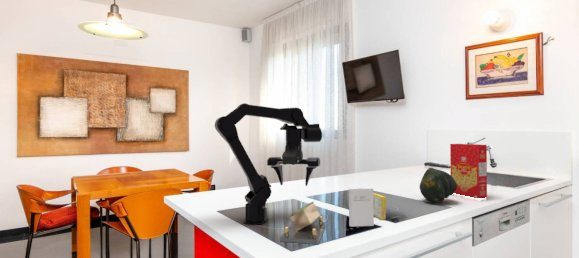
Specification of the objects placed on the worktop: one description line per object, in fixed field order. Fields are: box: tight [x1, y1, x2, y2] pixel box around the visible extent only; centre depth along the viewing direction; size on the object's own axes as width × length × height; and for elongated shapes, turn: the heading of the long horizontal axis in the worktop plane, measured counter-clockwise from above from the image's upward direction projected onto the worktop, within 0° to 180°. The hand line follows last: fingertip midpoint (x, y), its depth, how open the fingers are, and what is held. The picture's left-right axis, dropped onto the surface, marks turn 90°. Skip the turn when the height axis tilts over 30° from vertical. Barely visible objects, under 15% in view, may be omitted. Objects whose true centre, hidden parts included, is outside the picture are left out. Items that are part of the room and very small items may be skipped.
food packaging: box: [449, 143, 488, 198], centre depth 153 cm, size 15×5×25 cm, turn 23°
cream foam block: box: [289, 201, 321, 231], centre depth 105 cm, size 5×11×5 cm, turn 159°
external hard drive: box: [348, 187, 375, 228], centre depth 109 cm, size 2×8×12 cm, turn 96°
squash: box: [419, 167, 457, 203], centre depth 143 cm, size 14×15×15 cm
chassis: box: [279, 215, 327, 245], centre depth 101 cm, size 11×18×4 cm, turn 167°
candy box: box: [373, 192, 387, 221], centre depth 124 cm, size 16×2×8 cm, turn 14°
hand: (293, 185), depth 119 cm, fingers open, 9 cm apart
